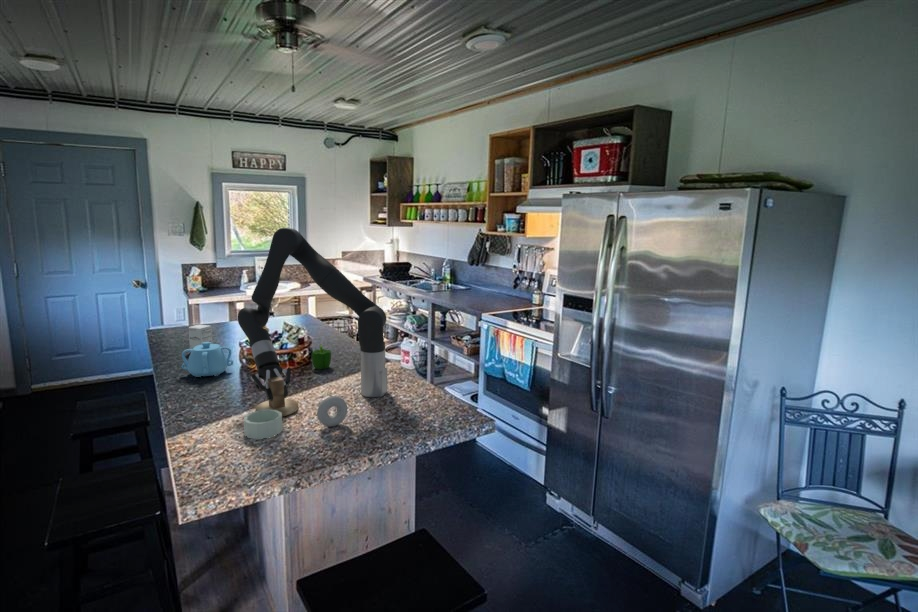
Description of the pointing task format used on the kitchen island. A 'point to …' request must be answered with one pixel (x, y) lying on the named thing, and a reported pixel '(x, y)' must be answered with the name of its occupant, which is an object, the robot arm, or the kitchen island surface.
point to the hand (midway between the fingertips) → (278, 398)
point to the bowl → (262, 424)
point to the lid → (278, 399)
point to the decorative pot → (206, 360)
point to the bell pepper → (321, 358)
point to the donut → (326, 405)
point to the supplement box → (199, 335)
